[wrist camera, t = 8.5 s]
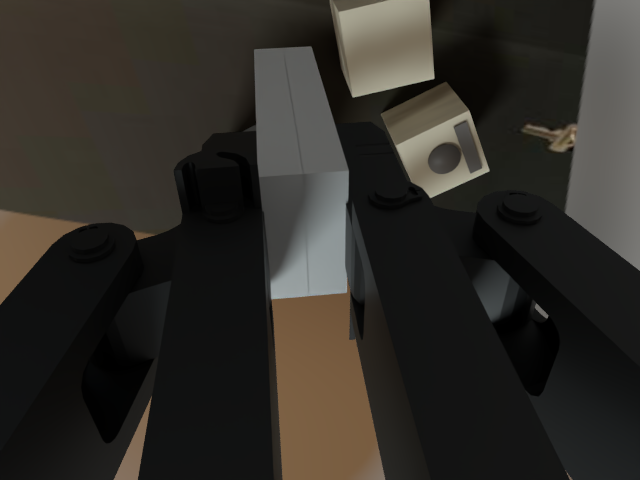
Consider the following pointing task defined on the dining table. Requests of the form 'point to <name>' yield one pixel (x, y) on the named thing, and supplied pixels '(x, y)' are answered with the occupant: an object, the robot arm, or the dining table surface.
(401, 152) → the striped block
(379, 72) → the plain block
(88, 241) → the robot arm
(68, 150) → the dining table surface
